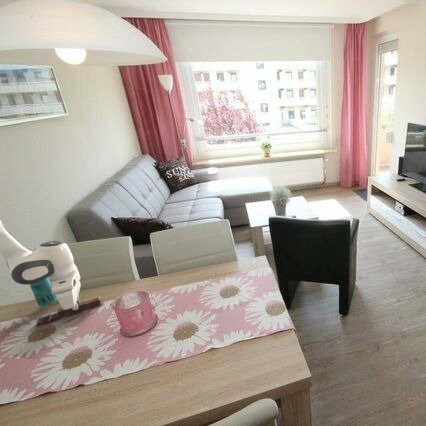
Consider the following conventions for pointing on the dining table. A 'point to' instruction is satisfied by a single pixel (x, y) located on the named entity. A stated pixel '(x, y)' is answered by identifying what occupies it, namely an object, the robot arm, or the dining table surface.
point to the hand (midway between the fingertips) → (76, 306)
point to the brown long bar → (69, 311)
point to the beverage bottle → (43, 292)
